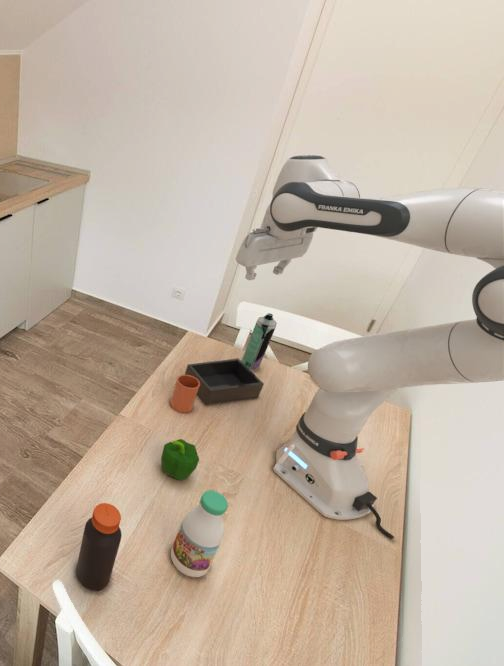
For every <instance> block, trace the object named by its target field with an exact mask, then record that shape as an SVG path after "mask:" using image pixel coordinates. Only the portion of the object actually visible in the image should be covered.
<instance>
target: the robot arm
mask: <svg viewBox="0 0 504 666" xmlns="http://www.w3.org/2000/svg"><path fill="white" fill-rule="evenodd" d="M318 229H328V230H335V231H342V232H348V233H355V234H363V235H369V236H373V237H377V238H382V239H386V240H391V241H395V242H399V243H404V244H408V245H412V246H415V247H419V248H424V249H428V250H432V251H435V252H441V253H445V254H451V255H455V256H460V257H466V258H474V259H477V260H480V261H483V262H485V263H487V264H488V265H490V266H491V267H493V270H491V271H490V272H488V273H487V274H486V275H484V276H482V278H480V279H479V281H478V282H477V283H476V284H475V286H474V288H473V291H472V295H471V302H472V309H473V312H474V314H475V317H476V318H473V319H466V320H460V321H453V322H448V323H441V324H434V325H427V326H422V327H415V328H409V329H404V330H398V331H397V330H396V331H391V332H379V333H374V334H368V335H363V336H358V337H352V338H348V339H341V340H337V341H333V342H331V343H327V344H326V345H324V346H321V347H320V348H318V349H316V350H315V351H313V352H312V353H311V355H310V356H309V359H307V360H308V361H307V373H308V376H309V377H310V379H311V381H312V382H313V384H314V385H315V386H317V387H318V389H317V391H316V392H315V393H314V396H313V397H312V398H311V401H310V402H309V404H308V407H307V409H306V410H305V412H303V413H302V414H301V416H300V418H299V420H298V421H297V423H296V425H295V430H294V431H293V433H292V435H291V436H290V437H289V438H288V439H287V441H286V442H285V443H284V444H283V445H282V446H280V447H279V448H278V449H277V450H276V453H275V464H274V466H273V468H272V470H273V472H274V473H275V474H276V475H277V476H279V478H281V480H283V481H284V482H285V483H286V484H287V485H288V486H289V487H291V488H292V489H293V491H295V492H296V493H297V494H299V496H300V497H302V498H303V499H304V500H305V501H306V502H307V503H309V505H311V506H312V507H313V509H315V510H316V511H317V512H318V513H320V514H321V515H322V516H324V517H325V518H329V519H332V520H341V521H342V520H343V521H345V520H346V521H348V520H349V521H350V520H354V519H355V520H356V519H359V518H363V517H365V516H368V515H369V514H370V513H371V512H372V514H373V515H374V517H375V526H376V528H377V529H378V531H380V532H381V533H382V534H383V535H385V536H386V537H388V538H389V539H391V540H393V539H394V538H395V536H394V535H393V534H391V533H390V532H388V531H387V530H386V529H384V528H383V527H382V525H381V522H382V518H381V516H380V515H379V513H378V511H377V510H376V508H375V502H376V501H377V499H378V497H377V496H376V495H375V494H373V492H370V491H369V490H370V480H369V479H368V477H367V475H366V469H365V467H364V466H363V465H362V464H361V462H360V460H359V458H358V455H357V454H361V453H363V452H364V450H365V448H364V447H362V448H358V440H359V439H358V437H359V434H360V433H361V431H362V430H363V428H364V427H365V425H366V423H367V422H368V421H369V419H370V417H372V415H373V414H374V413H375V412H376V411H377V409H379V407H381V406H382V405H383V404H384V403H385V402H386V401H388V399H389V398H390V397H391V396H392V395H393V394H394V393H395V392H396V391H397V390H398V389H404V388H413V387H424V386H438V385H454V384H455V385H456V384H474V383H475V384H478V383H490V382H491V383H492V382H493V383H494V382H502V381H504V190H502V189H494V188H484V187H466V186H465V187H443V188H433V189H426V190H420V191H414V192H408V193H402V194H397V195H395V194H394V195H389V196H382V197H361V195H360V190H359V189H358V188H357V186H356V185H355V183H353V182H351V181H348V180H346V179H344V178H343V177H342V176H340V175H338V174H337V172H335V171H334V170H333V168H331V167H330V165H329V162H328V160H327V158H326V157H324V156H322V155H314V154H313V155H310V154H308V155H306V154H305V155H295V156H291V157H289V158H287V159H286V161H285V162H284V164H283V165H282V167H281V169H280V171H279V174H278V175H277V178H276V181H275V183H274V185H273V189H272V197H271V201H270V203H269V204H268V206H267V207H266V210H265V213H264V216H263V218H262V221H261V224H260V228H257V227H256V228H254V229H252V231H250V232H249V233H248V234H247V235H246V236H245V237H244V238H243V240H242V242H241V244H240V246H239V249H238V251H237V254H236V256H235V260H236V263H237V264H239V265H241V266H243V267H245V272H246V274H245V277H244V278H245V280H248V281H254V280H255V279H256V277H257V273H256V272H255V270H256V269H257V266H261V265H267V264H271V263H276V262H278V263H277V265H275V266H274V267H273V270H272V274H274V275H276V276H278V275H279V276H280V275H282V274H283V273H284V270H285V269H286V268H287V267H288V265H289V264H290V263H291V262H292V259H299V258H302V257H304V256H305V254H306V253H307V251H308V249H309V248H310V245H311V243H312V241H313V237H314V233H315V232H316V231H317V230H318Z"/></svg>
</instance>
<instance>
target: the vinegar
mask: <svg viewBox="0 0 504 666" xmlns="http://www.w3.org/2000/svg"><path fill="white" fill-rule="evenodd" d="M121 520H122V515H121V511H120V510H119V509H118V508H117V507H116V506H115V505H114V504H112V503H111V504H110V503H108V502H102V503H99V504H97V505H96V506H95V507H94V508H93V510H92V515H91V517H90V518H88V520H87V521H86V522H85V525H84V528H83V534H82V539H81V544H80V549H79V554H78V559H77V563H76V569H75V574H76V578H77V580H78V582H79V584H80V585H81V586H82V587H83V588H85V589H86V590H89V591H91V592H99V591H103V590H104V589H105V588H106V587H107V586H108V585H109V583H110V582H111V581H110V580H111V577H112V574H113V570H114V566H115V563H116V559H117V555H118V552H119V548H120V545H121V542H122V541H121V540H122V535H123V534H122V530H121V528H120V524H121Z"/></svg>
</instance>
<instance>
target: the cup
mask: <svg viewBox="0 0 504 666" xmlns="http://www.w3.org/2000/svg"><path fill="white" fill-rule="evenodd" d="M199 387H200V382H199V380H198V379H197V378H195V377H193V376H190V375H185V374H180V375H178V376H177V377H176V381H175V384H174V387H173V391H172V393H171V396H170V397H171V398H170V402H169V404H170V406H171V408H172V409H173V410H175V411H177V412H181V413H189V412H192V410H193V408H194V405H195V401H196V399H197V397H198V395H197V393H198V390H199Z"/></svg>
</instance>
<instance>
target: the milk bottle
mask: <svg viewBox="0 0 504 666" xmlns="http://www.w3.org/2000/svg"><path fill="white" fill-rule="evenodd" d="M228 506H229V502H228V500H227V499H226V497H225V495H223V494H222V493H220V492H218V491H216V490H205V491H204V492H203V493H202V495H201V497H200V500H199V503H198V504H197V505H196V506H194V507H192V508H191V509H190V510H189V511H188V512H187V513H186V514H185V515H184V517H183V519H182V521H181V523H180V526H179V528H178V531H177V533H176V536H175V539H174V541H173V544H172V547H171V550H170V558H171V561H172V563H173V565H174V567H175V568H176V569H177V570H178V571H179V572H180V573H182V574H183V575H185V576H187V577H191V578H198V577H203V576H205V575H206V574H207V573H208V571H209V570H210V568H211V566H212V564H213V561H214V560H215V557H216V555H217V553H218V551H219V550H220V547H221V545H222V542H223V539H224V536H225V523H224V519H223V516H225V514H226V512H227V509H228Z"/></svg>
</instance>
